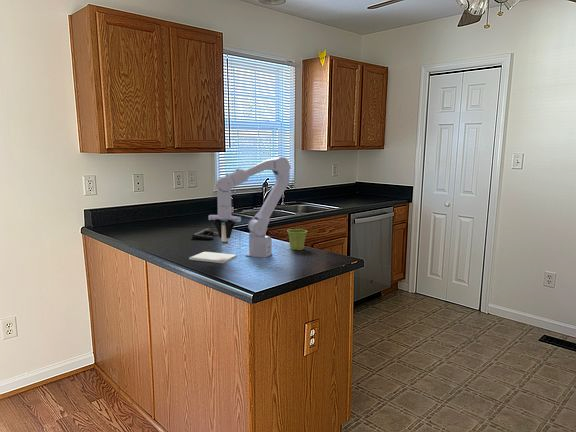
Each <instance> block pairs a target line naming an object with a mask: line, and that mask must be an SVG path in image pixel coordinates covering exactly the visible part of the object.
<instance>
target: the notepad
mask: <svg viewBox="0 0 576 432" xmlns="http://www.w3.org/2000/svg"><path fill="white" fill-rule="evenodd" d="M236 257H238V255H237V254H233V253H231V254H230V253H222V252H213V251H203V252H199V253H198V254H194V255H192V256H189V257H188V260H189V261H198V262H207V263H209V262H210V263H216V264H225V263H227V262H229V261H231V260H234V259H235V258H236Z"/></svg>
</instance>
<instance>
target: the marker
mask: <svg viewBox="0 0 576 432" xmlns="http://www.w3.org/2000/svg"><path fill="white" fill-rule="evenodd" d="M225 222H226V221H224V222H223V223H221V238H220V240H221V243H220V244H222V245H226V244H227V245H228V244H229V238H226V226H225Z"/></svg>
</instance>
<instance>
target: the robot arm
mask: <svg viewBox="0 0 576 432" xmlns="http://www.w3.org/2000/svg"><path fill="white" fill-rule="evenodd" d="M291 167H292V166H291V164H290V162H289V160H288V159H287V158H286V157H282V156H281V157H278V156H274V157H272V158H269V159H266V160H263V161H261V162H259V163H257V164H255V165H252V166H251V167H249V168H247V169H243V168H235V171H233V172H231V173H226V174H225V176H221V177H219V178H218V179H217V180H216V182H215V185H216V188H217V197H216V198H217V199H216V200H217V214H209V215H208V221H211V220H213V224H214V226H215V228H216V230H217V232H218V233H219V236H218V237H219V239H221V223H223V222H225V226H226V238H228V239H230V238H231V235H232V232H233V231H232V230H233V228H234V226H235V224H236V223H240V222H242V216H236V215H232V189H233V188H235V187H238V186H240V185H241V184H244V183H247V182H248V179H249V178H250V177H252V176H254V175H256V174H260V173H262V172H264V171H271V172H272V173H273V174H274V176H275V180H276V181H275V183H274V184H273V186H272V188H271V190H270V191H269V193H268V195H267V197H266V198H265V200H264V202H263V204H262V206H261V207H260V209H259V211H258V212H257V213H256V214H255V215H254V217H252V218H251V219H250V220H249V221H248V223H247V229H248V230H249V234H248V242H249V243H248V253H247V254H245V256H246V257H253V258H254V257H255V258H263V259H266V258H268V257H270V256H271V255H273V253H272V247H273V245H272V244H273V242H272V237H271V235H270V236H269V235H267V234H266V233H267V231H268V226H269V223H270V217H271V215H272V214H273V212H274V210H275V208H276V206H277V205H278V202H279V201H280V199H281V198H282V196H283V194H284V192H285V191H286V189H287V187H288V186H289V183H290V175H291V174H290V170H291Z"/></svg>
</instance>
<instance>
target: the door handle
mask: <svg viewBox="0 0 576 432" xmlns="http://www.w3.org/2000/svg"><path fill="white" fill-rule="evenodd" d="M215 237H219V233H218V231H217V232H216V230H212V229H211V228H210V227H207V228H204V229H202V230H200V231H198V232H195V233H193V234H191V239H192V240H198V241H199V240H201V241H214V239H215Z"/></svg>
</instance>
